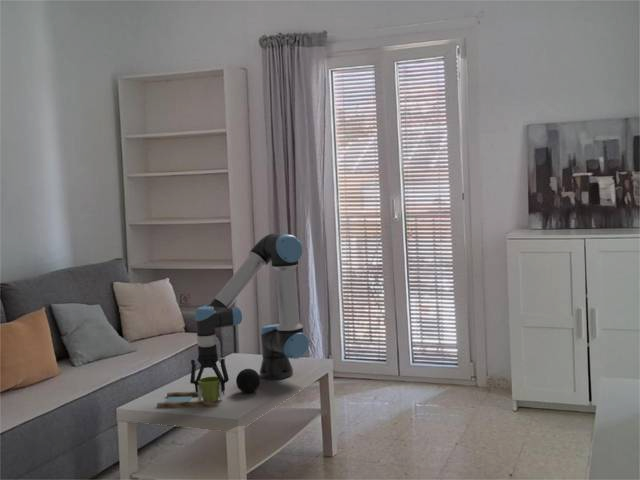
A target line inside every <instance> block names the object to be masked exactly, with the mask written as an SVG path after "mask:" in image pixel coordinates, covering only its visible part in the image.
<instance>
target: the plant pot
mask: <svg viewBox="0 0 640 480" xmlns="http://www.w3.org/2000/svg"><path fill="white" fill-rule="evenodd" d="M198 383H199V385H200V387H201V392H202V400H203V401H217V402H218V400H220V396H219V384H220V380H219V379H218V377H217V376H206V377H205V376H204V377H201V378H200V380H199V381H198Z"/></svg>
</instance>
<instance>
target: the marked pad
mask: <svg viewBox="0 0 640 480" xmlns="http://www.w3.org/2000/svg"><path fill="white" fill-rule="evenodd" d="M192 398H193V397H192V396H189V397H166V399H165V400H164V401H163V403H165V402H191V400H192Z"/></svg>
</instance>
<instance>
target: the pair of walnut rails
mask: <svg viewBox="0 0 640 480" xmlns="http://www.w3.org/2000/svg"><path fill="white" fill-rule="evenodd" d="M189 396H192V398H195V397H196V398H197V397H198V392H196V391H177V392H176V391H175V392H174V391H172V392H171V391H170V392H167V393H166V398H168V397H189ZM224 396H225V391H224V392H223V397H224ZM219 397H220V394H219ZM164 402H165V401H164ZM164 402H157V403H156V408H157V409H162V408H163V409H165V408H167V409H168V408H200V407H201V408H203V407H204V408H205V407H217V406H218V400H217V401H202V400H201V401H189V402H165V403H164Z"/></svg>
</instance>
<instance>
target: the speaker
mask: <svg viewBox="0 0 640 480" xmlns="http://www.w3.org/2000/svg"><path fill="white" fill-rule="evenodd" d="M235 382H236V386H237V388H238V390H240V392H243V393H245V394H250V393H254V392H255V391H256V390H257V389H258V388H259V387H260V384H261V377H260V374H259V373H258V372H257V371H256V370H255V369H252V368H244V369H242V370H240V372H238V374H237V376H236V380H235Z"/></svg>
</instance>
